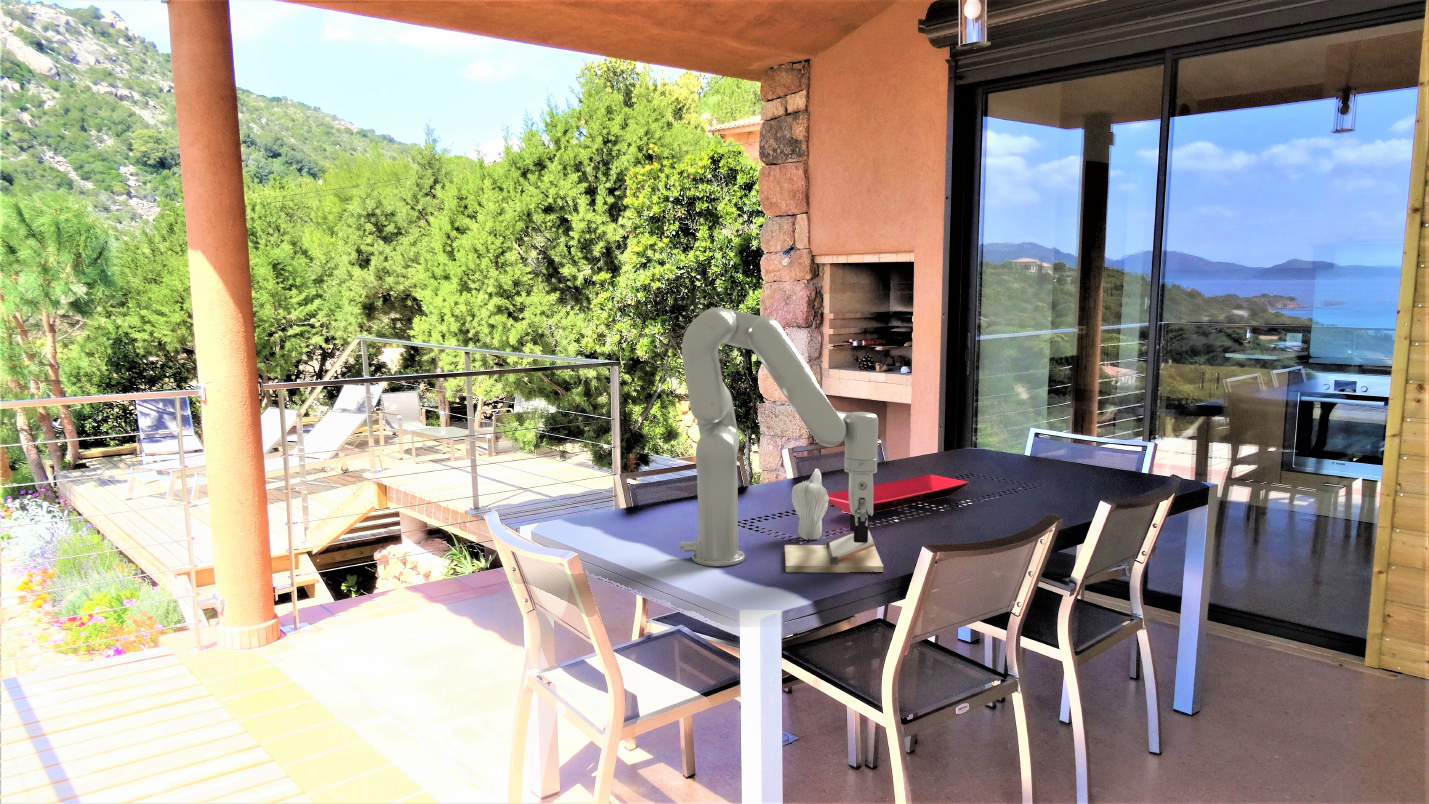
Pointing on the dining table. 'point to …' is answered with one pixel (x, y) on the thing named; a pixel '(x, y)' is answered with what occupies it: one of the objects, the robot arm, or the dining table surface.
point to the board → (829, 560)
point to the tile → (848, 546)
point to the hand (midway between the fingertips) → (858, 536)
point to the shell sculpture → (810, 506)
